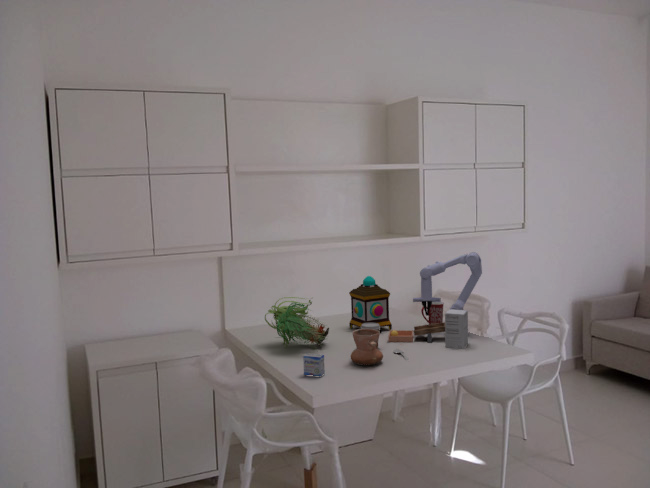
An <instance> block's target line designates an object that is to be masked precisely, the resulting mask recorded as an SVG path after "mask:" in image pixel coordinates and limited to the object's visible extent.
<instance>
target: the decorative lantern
mask: <svg viewBox="0 0 650 488" xmlns="http://www.w3.org/2000/svg"><path fill="white" fill-rule="evenodd" d="M348 294H349V296H350V300H351V301H350V303H351V304H350V305H351V306H350V307H351V319H350V321H349V325H348V326H349V329H353V327H354V326H355V327H356V328H358V329H361V325H362V324H364V323H378V324H379V325H380V328H383V327H388V331H390V330H392V328H393V326H392V325H393V324H392V322H391V320H390V307H389V305H390V304H389V303H390V302H389V298H390V295H391V292H389V290H387V289H386V288H385V289H384V288H382V287H380V286H379V285H378V284H377V283H376V279H374V278H373V277H372V276H371V275H367V276H365V278H363V281H362V284H360V285H359V286H358V287H356V288H353V289H352V290H350V291H349V293H348Z"/></svg>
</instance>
